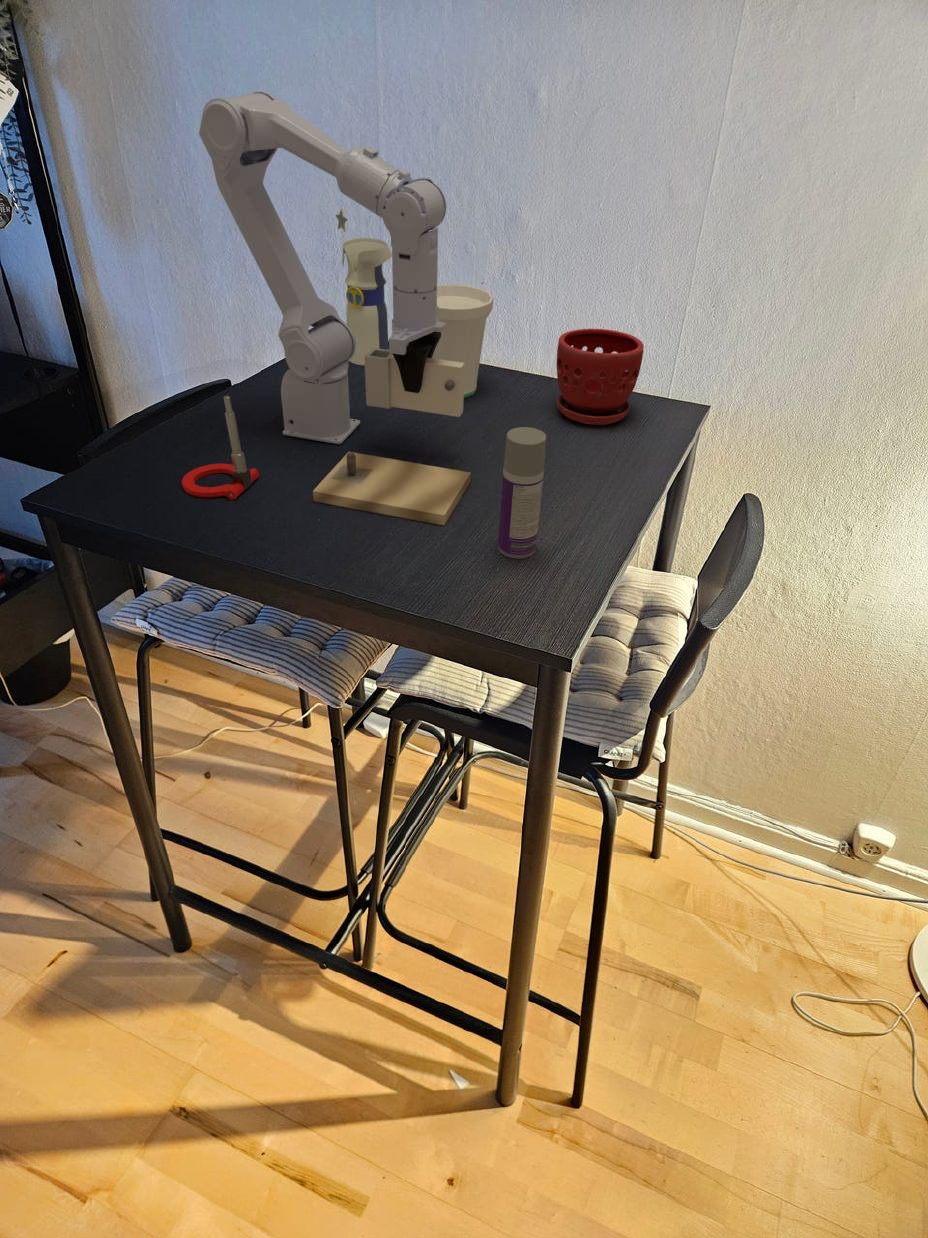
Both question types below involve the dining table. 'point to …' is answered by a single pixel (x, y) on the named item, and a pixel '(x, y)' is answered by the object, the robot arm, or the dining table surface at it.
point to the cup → (463, 328)
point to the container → (521, 492)
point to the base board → (393, 488)
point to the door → (437, 390)
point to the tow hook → (224, 467)
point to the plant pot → (597, 374)
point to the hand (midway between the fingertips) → (415, 387)
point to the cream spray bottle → (365, 293)
